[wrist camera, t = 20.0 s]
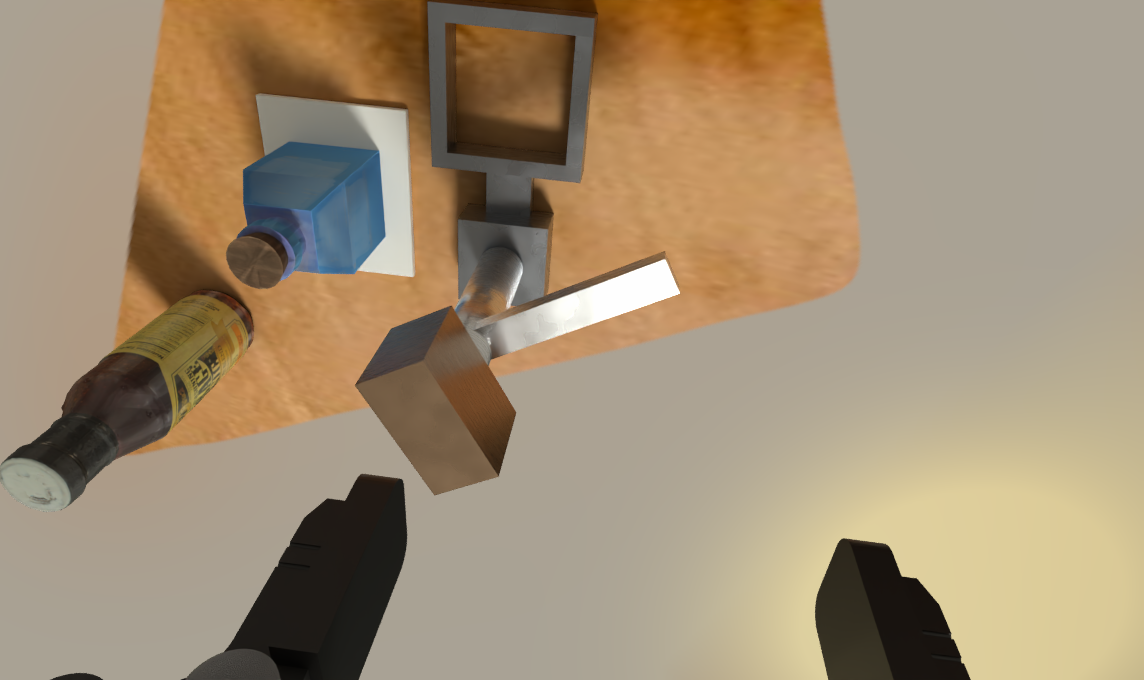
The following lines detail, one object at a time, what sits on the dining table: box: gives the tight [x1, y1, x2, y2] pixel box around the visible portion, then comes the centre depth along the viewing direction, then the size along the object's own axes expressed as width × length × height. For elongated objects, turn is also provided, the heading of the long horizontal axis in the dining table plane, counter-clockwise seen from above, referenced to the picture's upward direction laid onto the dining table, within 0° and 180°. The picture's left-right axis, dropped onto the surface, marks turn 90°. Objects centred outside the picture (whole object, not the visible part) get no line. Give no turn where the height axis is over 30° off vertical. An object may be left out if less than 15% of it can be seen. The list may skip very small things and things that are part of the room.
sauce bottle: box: [0, 290, 254, 512], centre depth 47 cm, size 7×6×20 cm
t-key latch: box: [355, 247, 679, 495], centre depth 38 cm, size 14×7×18 cm, turn 115°
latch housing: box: [428, 0, 598, 306], centre depth 45 cm, size 19×10×3 cm, turn 175°
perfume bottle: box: [226, 141, 386, 289], centre depth 43 cm, size 6×6×12 cm
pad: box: [256, 93, 415, 277], centre depth 48 cm, size 12×10×1 cm
